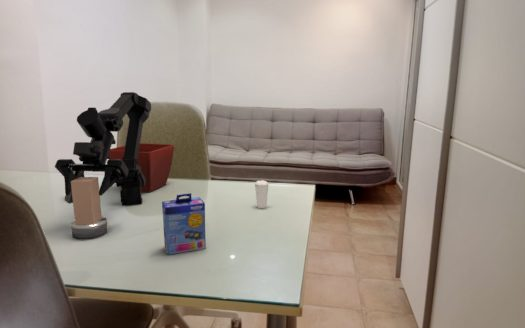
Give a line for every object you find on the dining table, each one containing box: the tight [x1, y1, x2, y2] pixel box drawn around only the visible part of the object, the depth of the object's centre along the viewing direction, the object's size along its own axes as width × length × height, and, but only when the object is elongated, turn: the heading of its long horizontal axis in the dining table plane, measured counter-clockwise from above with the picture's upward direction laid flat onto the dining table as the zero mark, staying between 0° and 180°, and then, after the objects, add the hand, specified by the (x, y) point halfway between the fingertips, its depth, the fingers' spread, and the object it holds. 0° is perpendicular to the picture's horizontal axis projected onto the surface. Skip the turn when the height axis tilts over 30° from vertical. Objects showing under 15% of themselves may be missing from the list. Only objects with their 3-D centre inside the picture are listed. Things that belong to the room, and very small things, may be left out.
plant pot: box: [109, 142, 175, 193], centre depth 152 cm, size 19×19×17 cm
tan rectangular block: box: [71, 176, 103, 225], centre depth 103 cm, size 5×5×12 cm
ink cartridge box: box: [161, 192, 207, 256], centre depth 93 cm, size 10×6×14 cm, turn 114°
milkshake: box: [254, 179, 271, 209], centre depth 126 cm, size 4×5×10 cm
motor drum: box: [70, 216, 109, 241], centre depth 104 cm, size 9×9×4 cm
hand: (83, 194), depth 101 cm, fingers open, 9 cm apart
